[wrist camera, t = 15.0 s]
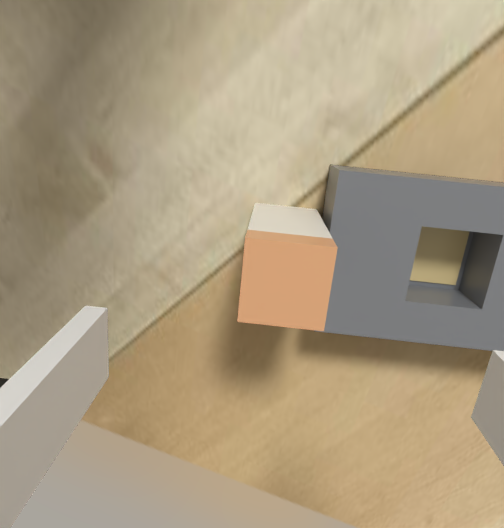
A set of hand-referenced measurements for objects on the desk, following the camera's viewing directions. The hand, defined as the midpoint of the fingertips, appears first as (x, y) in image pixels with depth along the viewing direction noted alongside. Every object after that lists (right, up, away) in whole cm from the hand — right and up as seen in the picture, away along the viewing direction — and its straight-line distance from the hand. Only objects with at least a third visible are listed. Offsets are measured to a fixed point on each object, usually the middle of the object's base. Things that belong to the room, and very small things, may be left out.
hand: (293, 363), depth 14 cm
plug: (+1, +6, +20) cm, 21 cm away
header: (+13, +5, +20) cm, 24 cm away
